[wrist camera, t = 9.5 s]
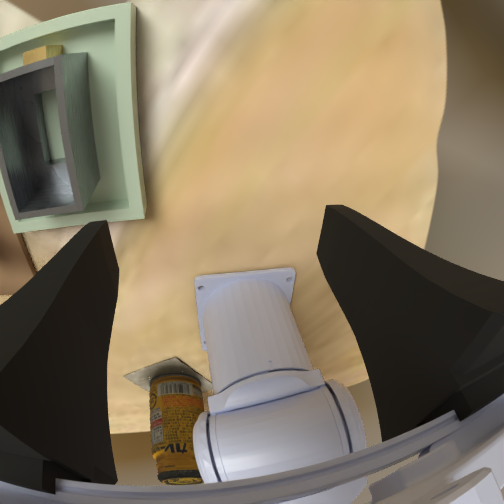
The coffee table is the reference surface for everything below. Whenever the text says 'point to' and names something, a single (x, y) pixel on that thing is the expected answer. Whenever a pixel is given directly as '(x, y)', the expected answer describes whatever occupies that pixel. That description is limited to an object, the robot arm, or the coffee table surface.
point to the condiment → (173, 417)
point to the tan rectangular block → (12, 257)
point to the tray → (103, 110)
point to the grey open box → (35, 135)
